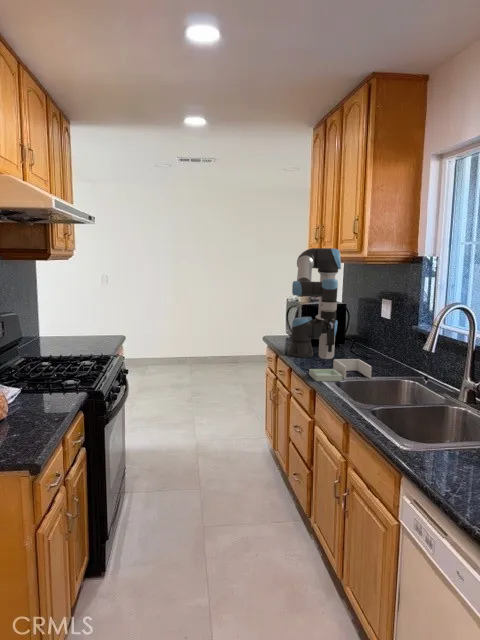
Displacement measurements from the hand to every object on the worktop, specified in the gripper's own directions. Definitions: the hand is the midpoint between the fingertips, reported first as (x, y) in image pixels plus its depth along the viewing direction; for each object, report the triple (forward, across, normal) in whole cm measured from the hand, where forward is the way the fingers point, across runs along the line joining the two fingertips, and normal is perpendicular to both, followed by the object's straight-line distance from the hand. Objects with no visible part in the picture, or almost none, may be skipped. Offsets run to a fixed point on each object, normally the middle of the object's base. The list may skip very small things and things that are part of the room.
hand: (326, 356), depth 234 cm
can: (+1, 0, 0) cm, 1 cm away
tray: (+11, 0, 0) cm, 11 cm away
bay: (+11, -6, +16) cm, 20 cm away
